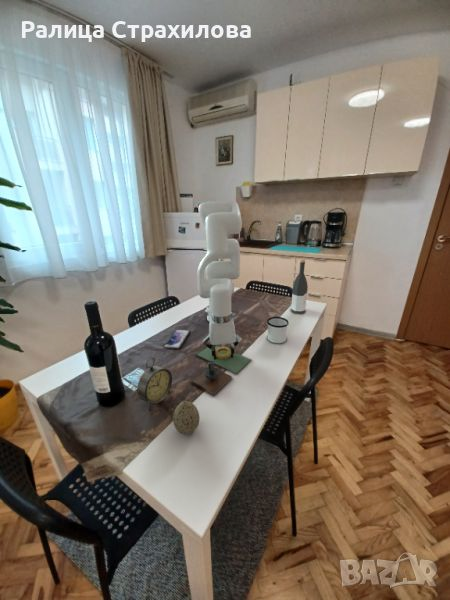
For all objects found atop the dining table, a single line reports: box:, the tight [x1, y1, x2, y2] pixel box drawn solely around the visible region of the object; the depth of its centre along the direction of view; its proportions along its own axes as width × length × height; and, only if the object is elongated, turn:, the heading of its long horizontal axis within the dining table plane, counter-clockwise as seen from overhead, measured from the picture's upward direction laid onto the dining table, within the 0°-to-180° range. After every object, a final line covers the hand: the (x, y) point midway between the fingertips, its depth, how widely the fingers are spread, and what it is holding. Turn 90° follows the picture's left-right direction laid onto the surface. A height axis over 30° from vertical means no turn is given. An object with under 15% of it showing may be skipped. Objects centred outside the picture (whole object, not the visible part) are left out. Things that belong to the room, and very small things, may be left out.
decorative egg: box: [172, 400, 200, 435], centre depth 65 cm, size 7×7×10 cm
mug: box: [266, 316, 290, 344], centre depth 109 cm, size 12×10×9 cm
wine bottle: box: [290, 258, 309, 315], centre depth 131 cm, size 8×8×30 cm
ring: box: [215, 346, 231, 359], centre depth 96 cm, size 6×6×1 cm
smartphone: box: [164, 329, 190, 349], centre depth 111 cm, size 7×1×15 cm
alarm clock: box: [136, 357, 173, 411], centre depth 74 cm, size 11×5×16 cm, turn 148°
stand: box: [191, 361, 233, 396], centre depth 83 cm, size 10×10×8 cm
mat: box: [196, 345, 251, 375], centre depth 97 cm, size 20×10×1 cm, turn 53°
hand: (223, 355), depth 97 cm, fingers closed on ring, 6 cm apart
